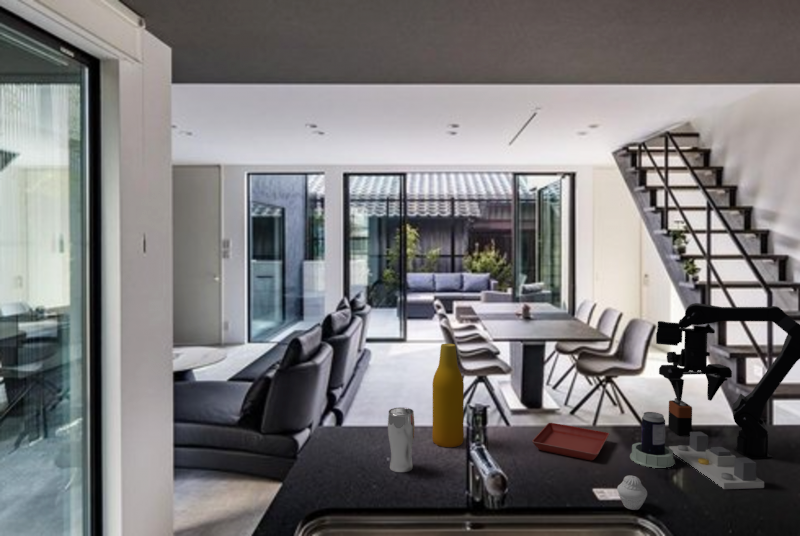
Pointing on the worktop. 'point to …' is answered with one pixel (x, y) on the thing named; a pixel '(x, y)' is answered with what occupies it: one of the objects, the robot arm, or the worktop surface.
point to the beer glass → (401, 438)
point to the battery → (680, 417)
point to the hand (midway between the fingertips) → (694, 400)
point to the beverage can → (653, 433)
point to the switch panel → (718, 464)
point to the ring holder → (652, 457)
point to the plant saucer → (570, 441)
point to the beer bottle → (448, 400)
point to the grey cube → (720, 451)
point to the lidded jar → (632, 492)
